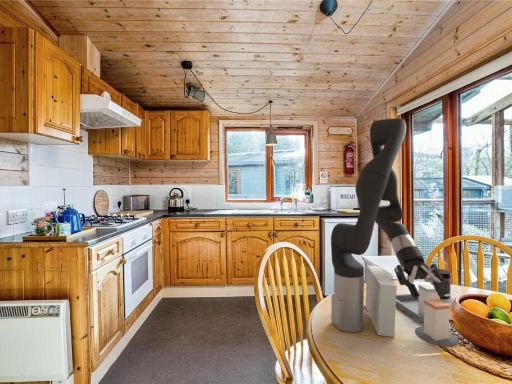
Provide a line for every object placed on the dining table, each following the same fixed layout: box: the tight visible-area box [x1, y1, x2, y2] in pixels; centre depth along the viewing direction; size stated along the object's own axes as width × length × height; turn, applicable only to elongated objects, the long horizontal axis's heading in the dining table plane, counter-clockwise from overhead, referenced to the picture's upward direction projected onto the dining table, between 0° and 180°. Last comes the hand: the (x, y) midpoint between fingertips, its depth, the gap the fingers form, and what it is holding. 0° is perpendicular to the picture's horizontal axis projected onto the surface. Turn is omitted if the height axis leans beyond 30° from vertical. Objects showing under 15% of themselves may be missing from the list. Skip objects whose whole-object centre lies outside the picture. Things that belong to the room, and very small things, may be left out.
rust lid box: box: [423, 299, 451, 340], centre depth 84 cm, size 5×5×10 cm
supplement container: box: [430, 268, 452, 300], centre depth 114 cm, size 7×7×10 cm
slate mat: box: [414, 325, 459, 348], centre depth 84 cm, size 11×11×1 cm
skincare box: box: [364, 265, 398, 338], centre depth 95 cm, size 21×6×16 cm, turn 168°
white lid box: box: [417, 283, 441, 315], centre depth 97 cm, size 5×5×10 cm
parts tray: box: [396, 293, 451, 324], centre depth 102 cm, size 18×14×2 cm
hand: (430, 296), depth 86 cm, fingers open, 8 cm apart
